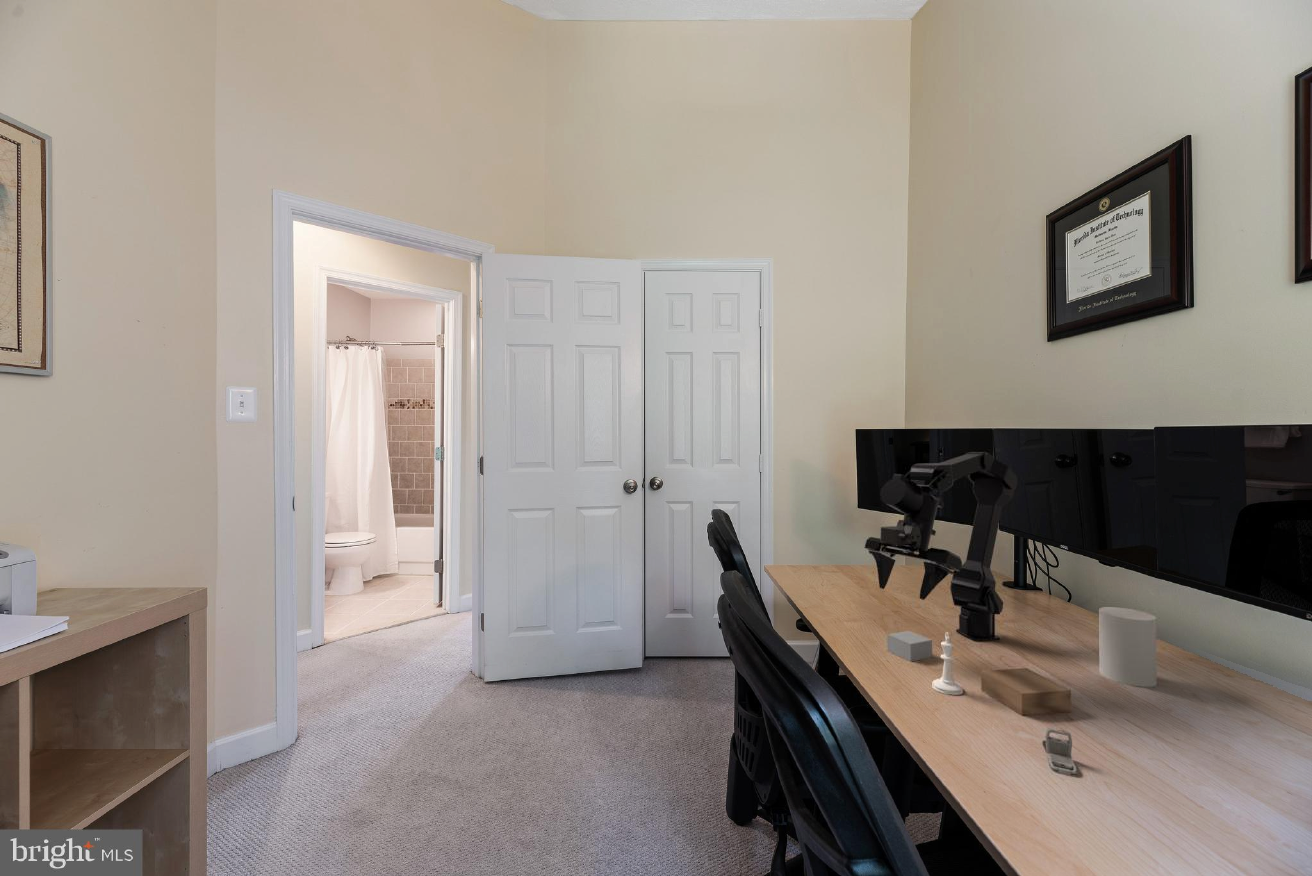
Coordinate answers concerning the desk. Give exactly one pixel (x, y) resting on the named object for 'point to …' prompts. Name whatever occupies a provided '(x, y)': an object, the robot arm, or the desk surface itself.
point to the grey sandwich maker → (1059, 753)
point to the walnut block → (1026, 691)
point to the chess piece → (947, 672)
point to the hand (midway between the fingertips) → (900, 593)
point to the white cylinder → (1127, 646)
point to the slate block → (909, 645)
